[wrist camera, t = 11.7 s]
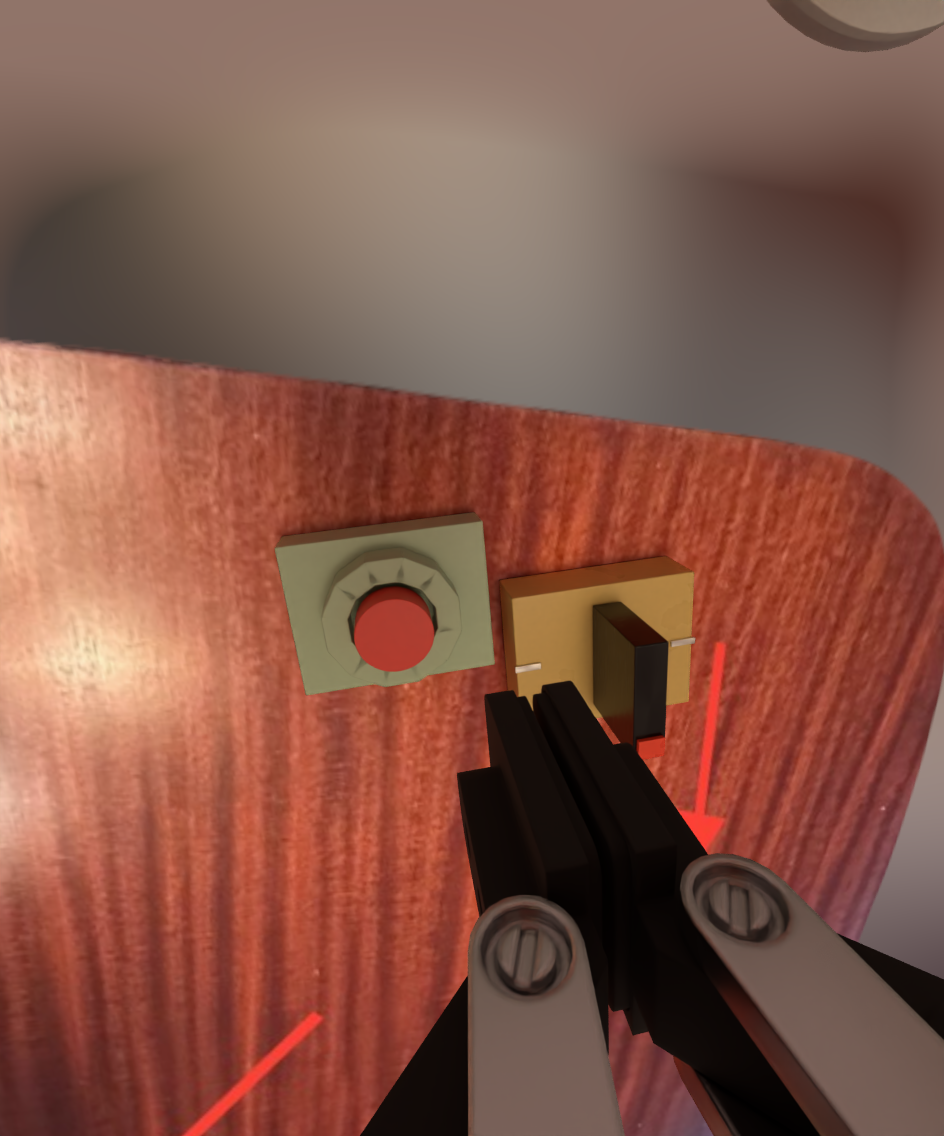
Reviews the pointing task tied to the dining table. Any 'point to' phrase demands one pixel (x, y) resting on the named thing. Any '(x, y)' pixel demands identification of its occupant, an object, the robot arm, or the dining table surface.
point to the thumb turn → (630, 677)
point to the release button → (393, 629)
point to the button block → (373, 561)
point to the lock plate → (565, 622)
